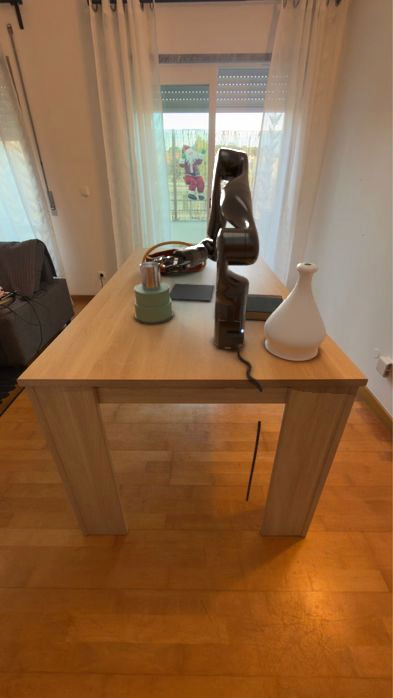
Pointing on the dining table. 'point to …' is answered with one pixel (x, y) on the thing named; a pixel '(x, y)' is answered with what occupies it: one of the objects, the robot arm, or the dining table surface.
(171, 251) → the decorative basket
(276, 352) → the vase
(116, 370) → the dining table surface
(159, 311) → the green round container
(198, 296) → the slate mat
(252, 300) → the book
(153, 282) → the steel cup
